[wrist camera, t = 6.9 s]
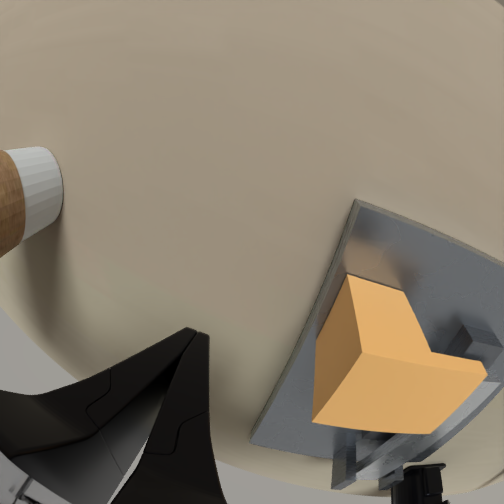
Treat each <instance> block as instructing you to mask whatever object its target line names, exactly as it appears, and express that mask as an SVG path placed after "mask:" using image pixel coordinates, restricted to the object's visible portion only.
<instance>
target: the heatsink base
mask: <svg viewBox="0 0 504 504" xmlns="http://www.w3.org/2000/svg"><path fill="white" fill-rule="evenodd" d="M347 274H348V275H351V276H355V277H358V278H361V279H364V280H367V281H371V282H374V283H377V284H380V285H383V286H386V287H390V288H393V289H396V290H399V291H402V292H404V294H405V296H406V298H407V300H408V302H409V304H410V306H411V308H412V310H413V312H414V314H415V316H416V318H417V321H418V323H419V325H420V327H421V329H422V332H423V334H424V336H425V338H426V341H427V343H428V345H429V348H430V350H431V352H434V353H439V354H444V355H449V356H454V357H459V358H465V359H470V360H476V361H481V363H482V364H483V366H484V368H485V369H488V370H495V371H496V373H497V375H498V377H499V379H500V382H501V383H500V384H499V386H498V387H497V388H496V389H495V390H494V391H493V392H492V393H491V394H490V395H489V396H488V397H487V398H486V399H485V400H484V401H483V402H482V403H481V404H480V405H479V406H478V407H477V408H476V409H475V410H474V411H472V412H471V413H470V414H469V415H468V416H467V417H466V418H465V419H464V420H462V421H461V422H460V423H459V424H458V425H457V426H455V427H454V428H453V429H452V430H451V431H449V432H448V433H447V434H446V435H444V436H443V437H442V438H440V439H439V440H438V441H436V442H435V443H434V444H432V445H431V446H430V447H428V448H427V449H425V450H424V451H423V452H421V453H420V454H418V455H417V456H415V457H414V458H412V459H411V460H409V461H408V462H421V461H423V460H424V459H426V458H427V457H428V456H430V455H431V454H432V453H434V452H435V451H436V450H438V449H439V448H440V447H441V446H443V445H444V444H445V443H446V442H448V441H449V440H450V439H451V438H452V437H454V436H455V435H456V434H457V433H458V432H459V431H460V430H462V429H463V428H464V427H465V426H466V425H467V424H468V423H469V422H470V421H471V420H472V419H473V418H475V417H476V416H477V415H478V414H479V413H480V412H481V411H482V410H483V409H484V408H485V407H486V406H487V404H488V403H489V402H490V401H491V400H492V399H493V398H494V397H495V396H496V395H497V394H498V393H499V391H500V390H501V389H502V388H503V387H504V263H503V262H501V261H499V260H497V259H495V258H493V257H491V256H489V255H487V254H485V253H483V252H481V251H479V250H477V249H475V248H473V247H471V246H469V245H467V244H465V243H463V242H461V241H459V240H456V239H454V238H452V237H450V236H448V235H446V234H443V233H441V232H439V231H437V230H434V229H432V228H430V227H427V226H425V225H423V224H420V223H418V222H415V221H413V220H411V219H408V218H406V217H403V216H401V215H398V214H395V213H393V212H390V211H388V210H385V209H383V208H380V207H377V206H374V205H372V204H369V203H366V202H364V201H361V200H358V199H355V201H354V204H353V207H352V209H351V212H350V215H349V218H348V221H347V224H346V226H345V229H344V232H343V235H342V237H341V240H340V243H339V245H338V248H337V251H336V253H335V256H334V258H333V261H332V263H331V266H330V268H329V271H328V273H327V276H326V278H325V281H324V283H323V286H322V288H321V290H320V293H319V295H318V298H317V300H316V302H315V305H314V307H313V309H312V311H311V314H310V316H309V318H308V320H307V323H306V325H305V327H304V329H303V331H302V334H301V336H300V338H299V340H298V342H297V344H296V346H295V349H294V351H293V353H292V355H291V357H290V359H289V361H288V363H287V365H286V367H285V369H284V371H283V373H282V375H281V377H280V379H279V381H278V383H277V385H276V387H275V389H274V391H273V393H272V395H271V396H270V398H269V400H268V402H267V404H266V406H265V408H264V410H263V411H262V413H261V415H260V417H259V419H258V420H257V422H256V424H255V426H254V428H253V429H252V433H251V437H250V441H249V443H251V444H255V445H259V446H263V447H267V448H271V449H276V450H281V451H286V452H291V453H296V454H302V455H308V456H315V457H322V458H329V459H333V468H332V483H331V489H338V490H341V489H343V488H345V487H347V486H348V485H350V484H352V483H353V482H355V481H356V461H360V460H362V459H363V458H365V457H366V456H368V455H369V454H370V453H372V452H373V451H375V450H376V449H377V448H379V447H380V446H381V445H383V444H384V443H385V442H387V441H388V440H389V439H391V438H392V437H393V436H394V435H396V434H397V433H390V432H377V431H367V430H358V429H351V428H343V427H337V426H331V425H325V424H319V423H314V422H312V409H313V394H314V376H315V351H316V339H317V337H318V335H319V334H320V332H321V330H322V327H323V325H324V323H325V321H326V319H327V317H328V315H329V313H330V311H331V309H332V307H333V305H334V302H335V300H336V298H337V296H338V294H339V291H340V289H341V287H342V285H343V283H344V280H345V278H346V276H347ZM403 480H404V475H403V465H401V466H400V467H398V468H396V469H395V470H393V471H391V472H390V473H388V474H386V475H384V476H382V477H381V478H379V490H388V489H390V488H391V487H393V486H395V485H397V484H398V483H400V482H402V481H403Z"/></svg>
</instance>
